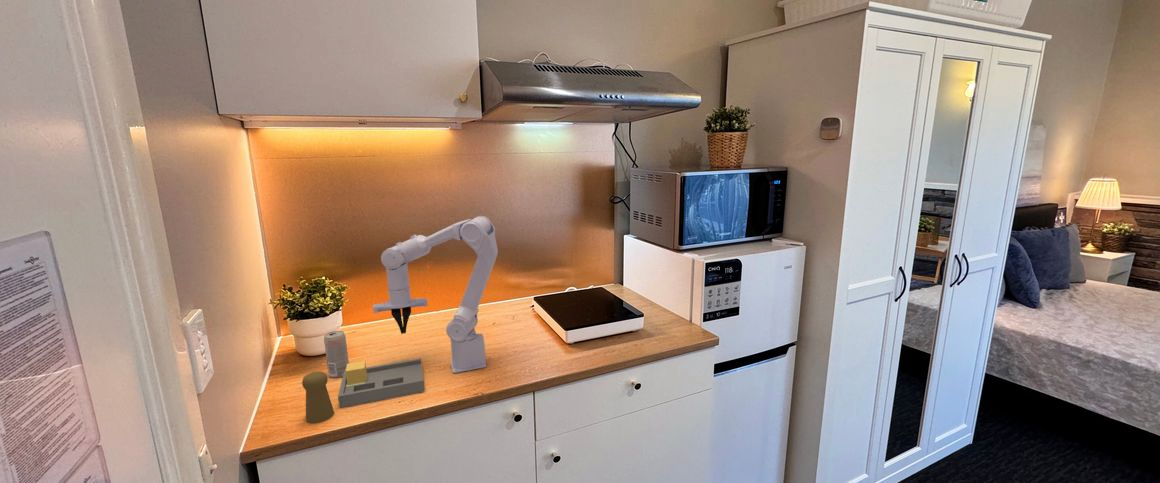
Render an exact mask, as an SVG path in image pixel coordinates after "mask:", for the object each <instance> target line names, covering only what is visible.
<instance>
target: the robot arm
mask: <svg viewBox="0 0 1160 483" xmlns="http://www.w3.org/2000/svg"><path fill="white" fill-rule="evenodd" d="M452 239H453V240H456V241H464V242H465V244H467V245H468V246H469V247H470V248H471V249H473V251H474V253H475V254H476V256H477V258H476V260H475V263H474V266H473V268H472V271H471V274H470V277H469V280H468V282H467V286H466V288H465V290H464V294H463V296H462V299H461V302H460V304H459V307H458V309H457V310H456V312H455V313H454V316H453V318H452V320H451V321H450V322H448V324H447V326H446V329H445V331H446V335H447V337H448V339H450V348H451V349H450V350H451V359H450V360H449V362H450V367H451V372H452V374H456V373H462V372H467V371H472V370H473V371H474V370H479V369H483V368H487V362H486V361H487V360H486V359H487V358H486V356H487V355H486V344H485V339H484V335H483V333H476V330H475V327H477V324H478V322H479V321H478V319H479V318H478V313H479V305H480V304H481V300H482V297H483V294H484V292H485V290H486V287H487V284H488V281H489V279H490V276H491V273H492V271H493V268H494V266H495V263H496V260H497V257H498V253H499V250H498V245H497V239H496V228H495V226H494V225H493V223H492V222H491V220H490V219H489V218H488V217H487V216H484V215H478V216H477V215H476V216H475V217H474V218H473V219H472V218H469V219H465V220H462V221H459V222H455V223H452V225H450V226H447V227H445V228H443V229H441V230H439V231H437V232H435V233H433V234H431V235H428V236H425V235H422V234H418V235H417V234H414V235H413V234H412V235H411V236H409V239H408V240H407V239H406V240H405V241H403V242H401V241H399V242H397V243H395V244H396V245H394V246H392V247H389V248H388V247H387V248H386V249H385V250H384V251H383V252H382V253H381V256H380V261H381V264H382V265H383V266H384V267H385V270H386V271H385V272H386V280H387V282H386V283H387V287H388V288H387V289H388V300H389V301H385V302H382V303H376V304H373V305H372V308H373V310H372V311H373V314H377V313H381V312H387V311H388V312H389V311H390V312H391V316H392V317H393V319H394V320H395V321H396V324H397V326H398V328H399V332H400V334H401V335H402V334H406V333H407V328H408V327H407V326H408V321H409V318H410V316H411V313H412V308H419V307H428V298H427V297H424V298H423V297H421V298H412V297H411V288H410V279H409V278H410V277H409V268H408V263H411V262H412V261H414V260H418V259H419V258H422V257H424V256H426V255H429V253H430V252H431V249H432V247H435V246H438V245H440V244H442V243H445V242H447V241H450V240H452Z"/></svg>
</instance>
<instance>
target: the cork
mask: <svg viewBox="0 0 1160 483" xmlns="http://www.w3.org/2000/svg"><path fill="white" fill-rule="evenodd" d="M327 383H328V375H327V373H325V372H324V371H321V370H320V371H312V372H309V373H307V374H305V376H303V378H302V381H301V384H302V387H303V389H304V390H305V422H306V423H308V424H312V425H313V424H320V423H323V422H326V421H328V420H330V419H331V418H332V417H333V416H334V415H335V410H334V407H333V404H332V401H331V397H330V394H329V391H328V388H327Z"/></svg>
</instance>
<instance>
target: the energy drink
mask: <svg viewBox="0 0 1160 483" xmlns="http://www.w3.org/2000/svg"><path fill="white" fill-rule="evenodd" d="M323 343H324V349H325V351H324V352H325V357H326V364H327V365H326V366H327V370H328V371H327V372H328V377H331V378H333V379H339V378H342V377H343V373H344V371H346V367H347V364H349V363H350V361H349V354H348V353H349V352H348V347H347V345H348V344H347V339H346V334H345V332H344V331H343V330H333V331H330V332H327V333H325V334H324V338H323Z"/></svg>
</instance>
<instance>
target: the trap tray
mask: <svg viewBox="0 0 1160 483" xmlns="http://www.w3.org/2000/svg"><path fill="white" fill-rule="evenodd" d="M422 365H423V364H422V357H421V358H420V357H419V358H413V359H408V360H403V361H397V362H392V363H385V364H380V365H373V366H369V367H368V366H366V370H367V379H366V382H363V383H357V384H352V385H347V379H346V372H345V371H344V373H343V377H341V381H340V382H341V383H340V387H339V391H338V394H337V397H338V407H339V409H342V408H347V407H352V406H357V405H363V404H367V403H373V402H378V401H379V402H380V401H383V400H389V399H393V398H400V397H404V396H410V395H414V394H421V393H425V382H424V375H423V374H424V373H423V366H422Z"/></svg>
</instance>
